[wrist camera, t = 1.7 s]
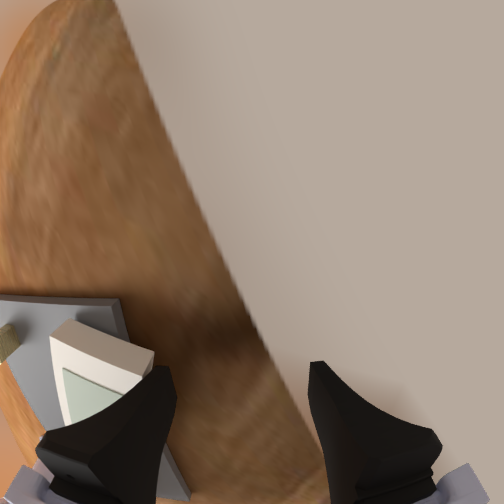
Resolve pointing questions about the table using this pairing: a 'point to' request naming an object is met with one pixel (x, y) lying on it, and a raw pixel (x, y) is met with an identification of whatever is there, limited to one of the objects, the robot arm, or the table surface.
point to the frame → (93, 369)
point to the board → (41, 367)
